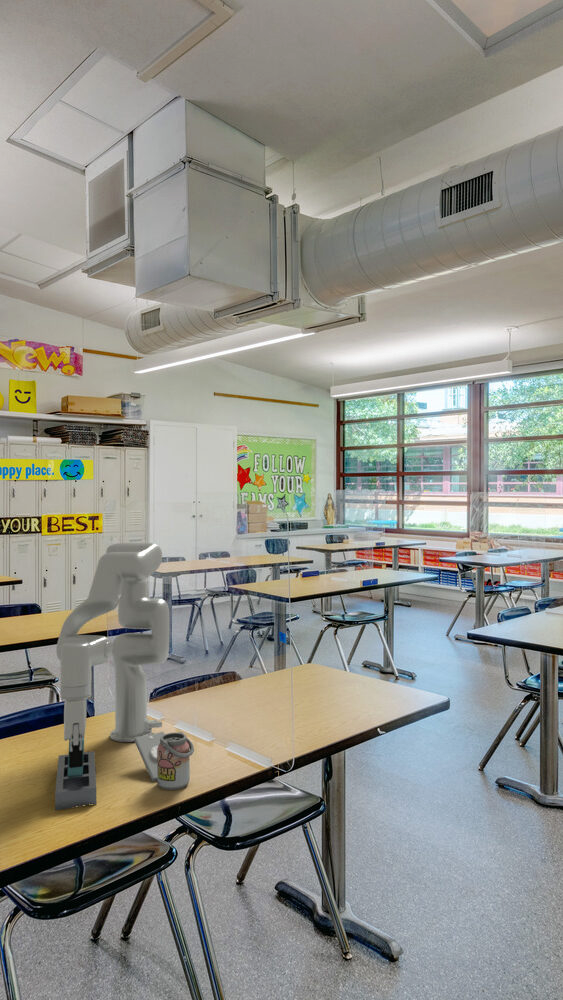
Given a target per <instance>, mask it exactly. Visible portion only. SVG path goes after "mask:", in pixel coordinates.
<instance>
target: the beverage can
mask: <svg viewBox="0 0 563 1000" xmlns="http://www.w3.org/2000/svg"><path fill="white" fill-rule="evenodd" d="M164 734H165V735H163V736H161V737H160V744H159V745H158V748H157V781H156V782H157V785H158V786H159V787H160V789H163V790H166V791H177V790H181V789H183V788H185V787H186V786H188V784H189V783H190V779H191V778H190V775H191V772H190V771H191V769H190V766H191V765H190V760H191V759H190V757H191V756H192V755H193V754H194V752H195V747H194V744H193V742H192V741H191V740H190V739H189V738H188V737H187V735H186V734H184V732H183V731H179V732H168V733H164Z"/></svg>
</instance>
